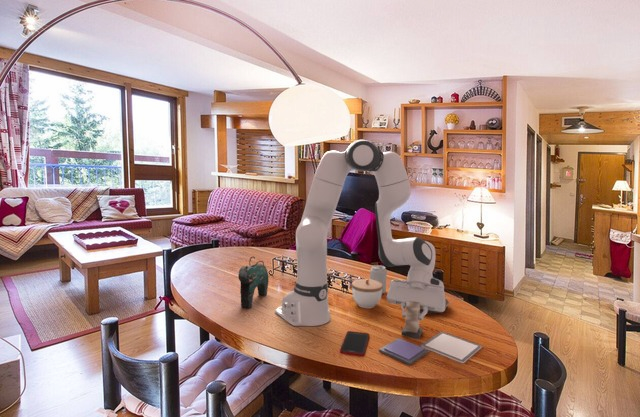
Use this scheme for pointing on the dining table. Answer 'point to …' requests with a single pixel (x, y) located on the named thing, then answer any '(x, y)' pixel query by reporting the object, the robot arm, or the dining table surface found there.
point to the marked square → (452, 347)
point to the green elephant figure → (252, 282)
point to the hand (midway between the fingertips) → (412, 318)
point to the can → (379, 275)
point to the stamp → (412, 320)
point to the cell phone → (355, 343)
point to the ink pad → (404, 351)
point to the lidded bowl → (366, 292)
